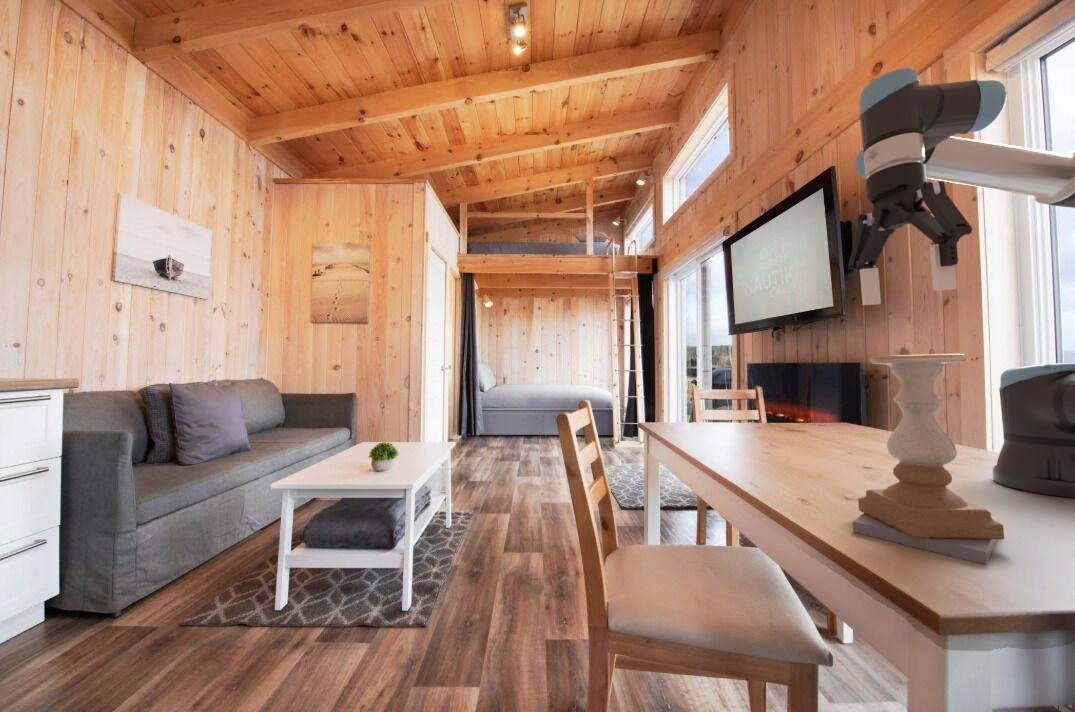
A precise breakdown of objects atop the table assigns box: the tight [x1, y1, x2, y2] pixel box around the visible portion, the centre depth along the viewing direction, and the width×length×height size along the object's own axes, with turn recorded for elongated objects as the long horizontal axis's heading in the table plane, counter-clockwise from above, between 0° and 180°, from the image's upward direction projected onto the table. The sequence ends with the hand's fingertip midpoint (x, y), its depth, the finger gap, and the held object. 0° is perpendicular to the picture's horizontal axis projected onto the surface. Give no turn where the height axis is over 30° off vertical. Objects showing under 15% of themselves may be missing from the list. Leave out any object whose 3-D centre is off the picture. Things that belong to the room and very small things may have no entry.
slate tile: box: [852, 512, 998, 566], centre depth 58 cm, size 13×13×2 cm
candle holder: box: [857, 353, 1005, 540], centre depth 58 cm, size 11×11×24 cm
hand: (904, 298), depth 67 cm, fingers open, 13 cm apart
